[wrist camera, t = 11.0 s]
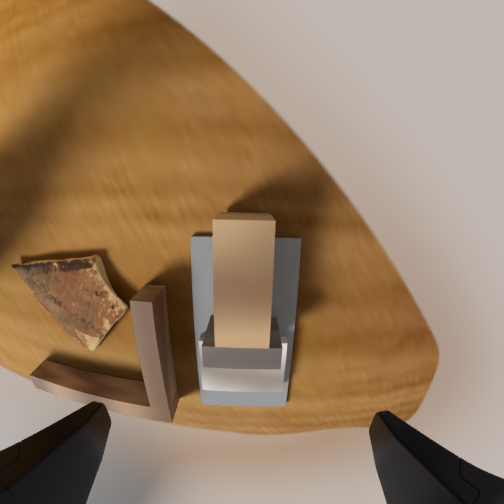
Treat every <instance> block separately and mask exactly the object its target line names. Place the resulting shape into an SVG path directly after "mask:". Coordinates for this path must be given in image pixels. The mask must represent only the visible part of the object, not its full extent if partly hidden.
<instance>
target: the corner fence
mask: <svg viewBox="0 0 504 504" xmlns="http://www.w3.org/2000/svg"><path fill="white" fill-rule="evenodd" d="M130 308H131V315H132V321H133V328H134V333H135V339H136V345H137V350H138V355H139V360H140V365H141V370H142V374H143V378H144V382H142V381H136V380H130V379H124V378H119V377H113V376H108V375H104V374H99V373H94V372H90V371H86V370H81V369H77V368H73V367H70V366H66V365H62V364H58V363H55V362H52V361H48V360H44V361H43V362H42V363H41V364H40V365H39V366H38V367H37V368H36V369H35V370H34V371H33V372H32V373H31V374H30V377H31V379H32V381H33V383H34V386H35V387H36V388H39V389H41V390H44V391H46V392H49V393H52V394H55V395H58V396H61V397H64V398H67V399H70V400H73V401H76V402H79V403H83V404H86V405H87V404H89V403H90V402H92V401H97V402H101V403H104V404H105V406H106V408H107V410H109V411H113V412H117V413H122V414H127V415H131V416H136V417H142V418H147V419H153V420H159V421H166V422H172V421H173V418H174V415H175V411H176V408H177V405H178V401H179V394H178V388H177V381H176V375H175V368H174V361H173V354H172V346H171V338H170V329H169V320H168V309H167V298H166V286H165V285H147V284H146V285H145V286H144V287H143V288H142V289H141V290H140V291H139V292H138V293H137V294H136V295H135V296H134V297H133V298H132V299H131V300H130Z"/></svg>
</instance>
